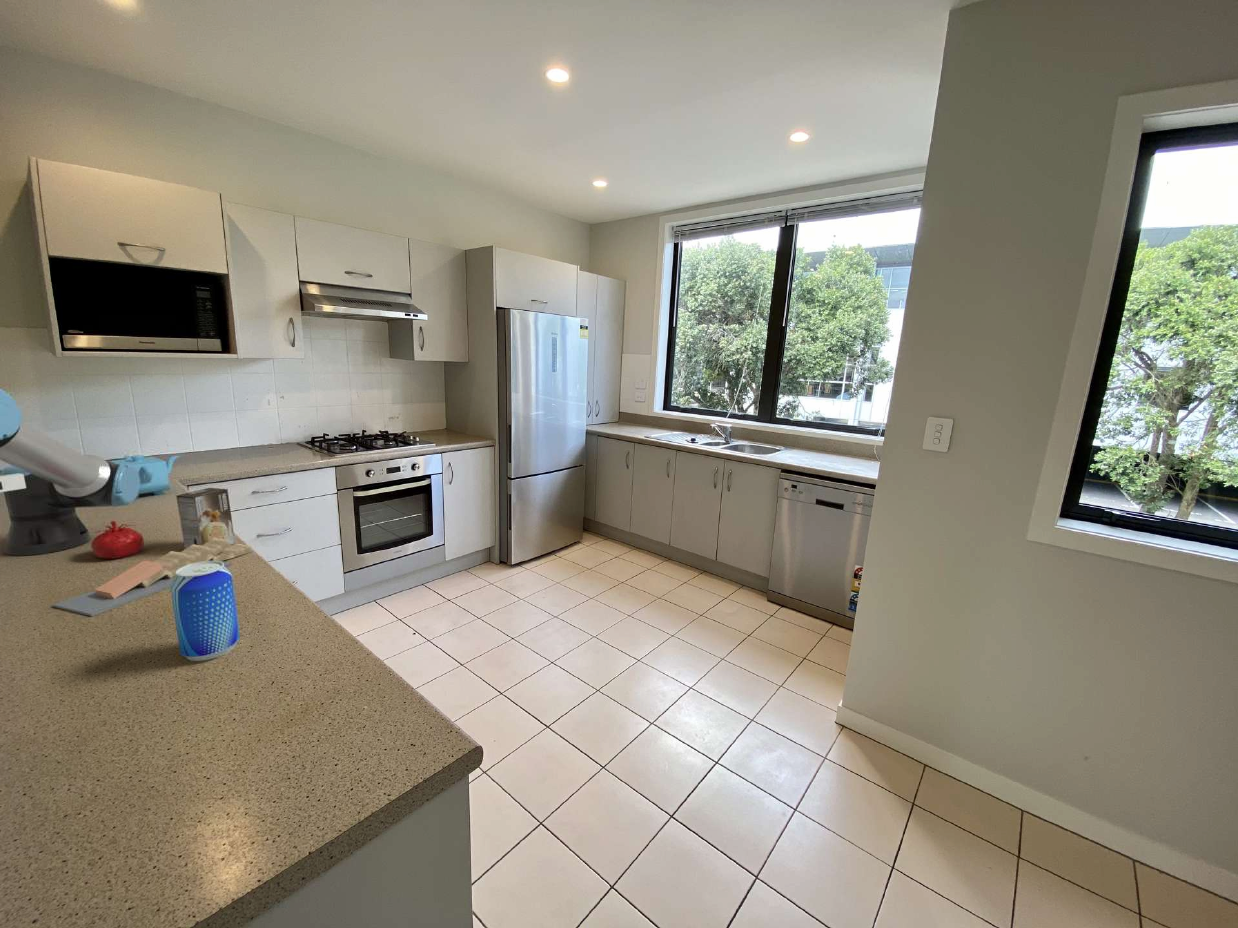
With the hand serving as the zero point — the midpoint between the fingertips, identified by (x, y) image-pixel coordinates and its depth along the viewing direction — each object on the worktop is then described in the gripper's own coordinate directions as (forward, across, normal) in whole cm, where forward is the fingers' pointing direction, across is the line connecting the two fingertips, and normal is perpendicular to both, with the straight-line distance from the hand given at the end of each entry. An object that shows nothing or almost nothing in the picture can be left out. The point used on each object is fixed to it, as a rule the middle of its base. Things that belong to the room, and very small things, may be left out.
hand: (22, 480), depth 94 cm
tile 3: (+19, 0, -27) cm, 33 cm away
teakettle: (+67, -87, -29) cm, 113 cm away
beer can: (+2, +40, -28) cm, 49 cm away
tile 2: (+14, 0, -27) cm, 30 cm away
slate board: (+17, +1, -28) cm, 33 cm away
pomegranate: (+26, -25, -29) cm, 46 cm away
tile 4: (+24, 0, -27) cm, 36 cm away
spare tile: (+8, 0, -27) cm, 28 cm away
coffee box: (+37, -10, -29) cm, 48 cm away
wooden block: (+29, +1, -27) cm, 40 cm away
